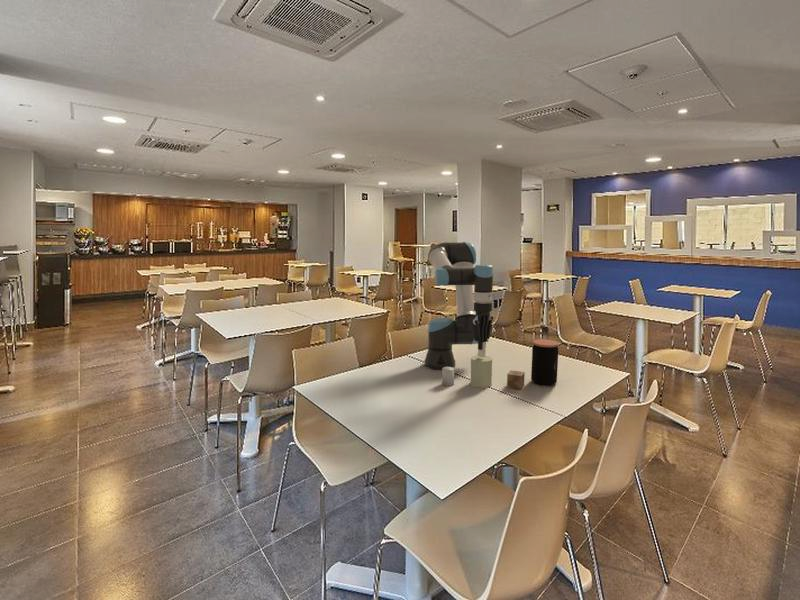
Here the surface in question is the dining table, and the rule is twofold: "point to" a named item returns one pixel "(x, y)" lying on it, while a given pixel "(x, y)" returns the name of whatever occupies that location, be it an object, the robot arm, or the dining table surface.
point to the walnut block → (515, 379)
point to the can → (481, 371)
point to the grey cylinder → (448, 376)
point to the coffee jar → (544, 362)
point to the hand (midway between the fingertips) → (481, 356)
